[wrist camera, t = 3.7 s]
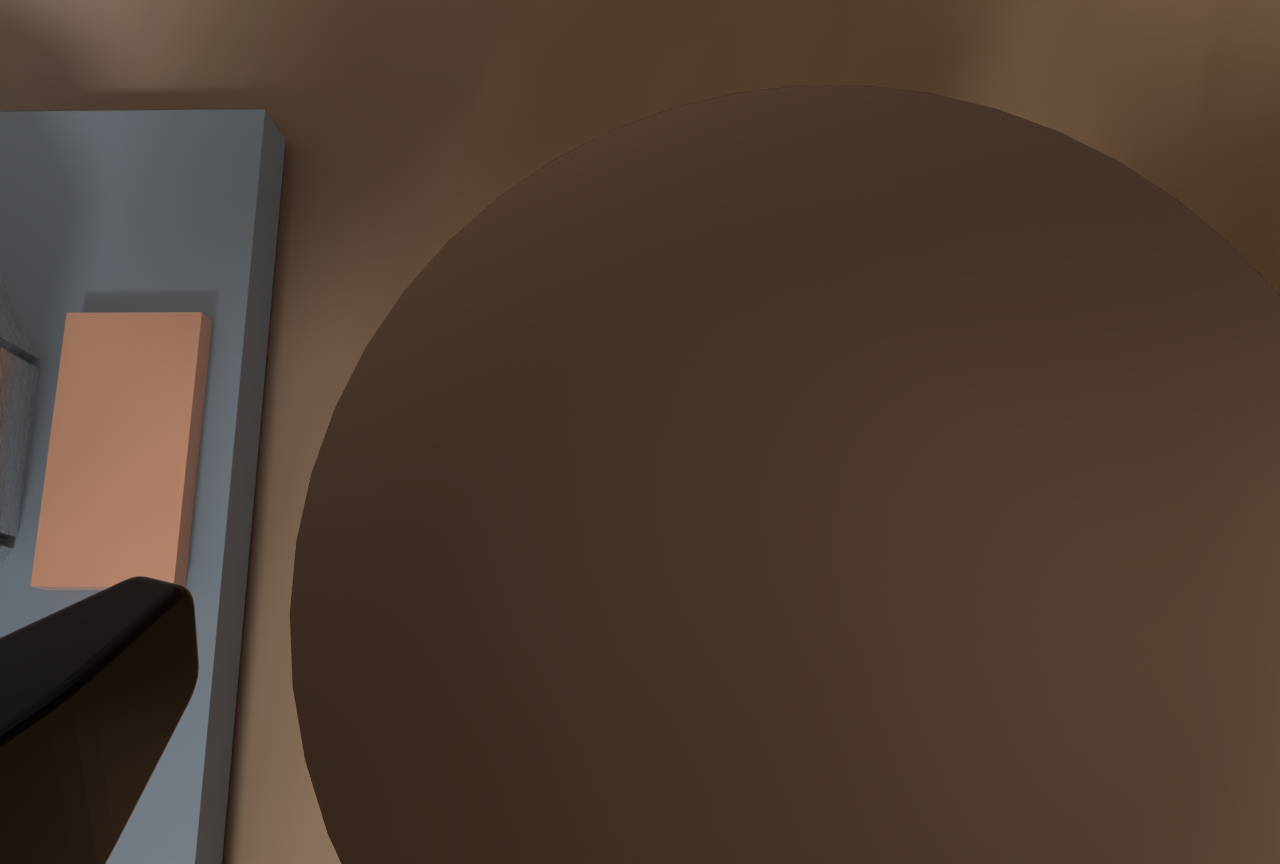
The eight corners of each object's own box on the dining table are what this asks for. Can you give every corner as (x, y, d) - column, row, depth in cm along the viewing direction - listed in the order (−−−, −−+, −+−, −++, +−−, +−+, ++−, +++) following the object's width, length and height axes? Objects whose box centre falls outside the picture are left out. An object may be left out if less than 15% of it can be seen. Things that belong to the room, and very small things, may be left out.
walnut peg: (984, 741, 17) (1669, 760, 5) (677, 952, 16) (683, 1500, 5) (778, 443, 18) (962, -83, 6) (484, 630, 17) (102, 427, 6)
